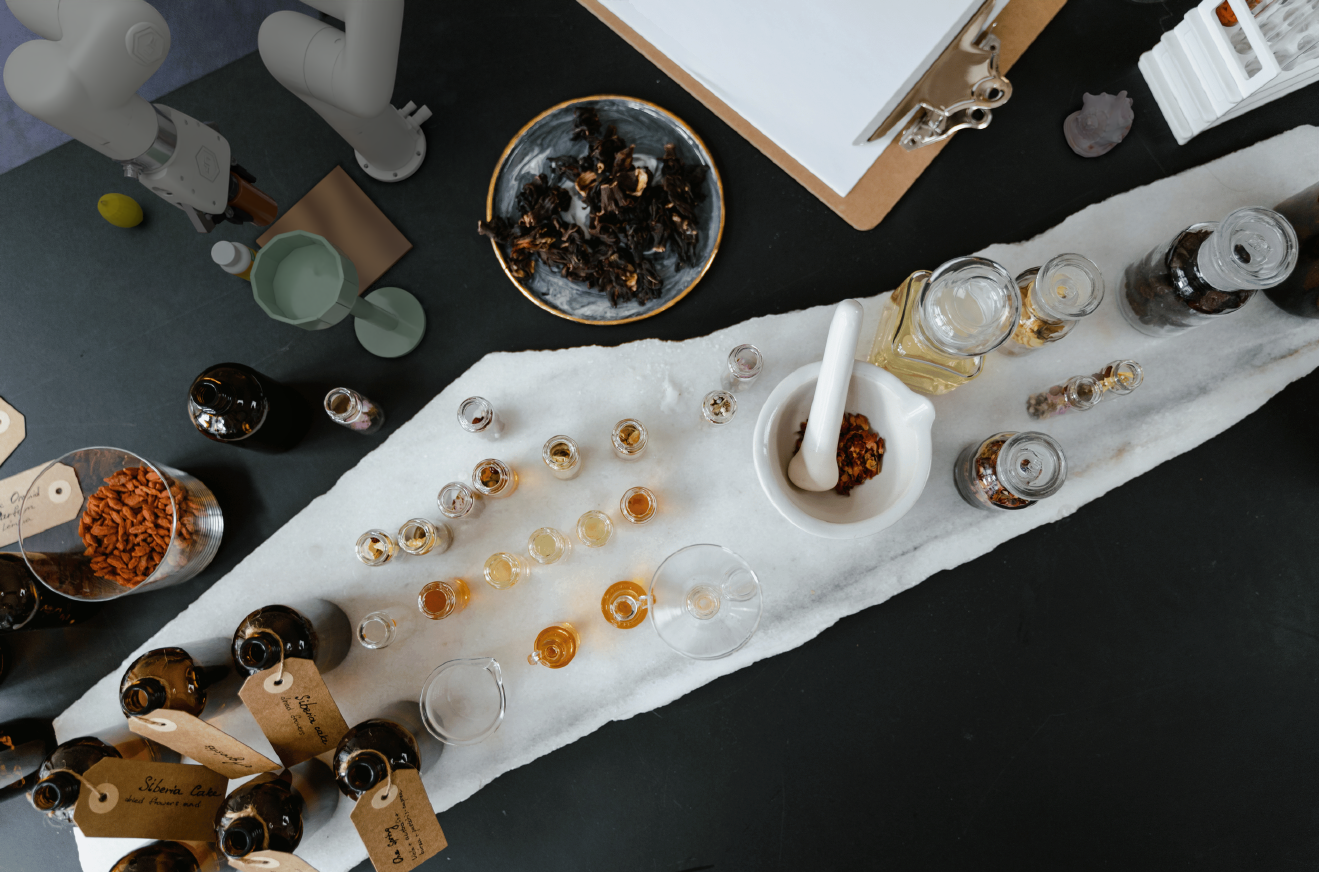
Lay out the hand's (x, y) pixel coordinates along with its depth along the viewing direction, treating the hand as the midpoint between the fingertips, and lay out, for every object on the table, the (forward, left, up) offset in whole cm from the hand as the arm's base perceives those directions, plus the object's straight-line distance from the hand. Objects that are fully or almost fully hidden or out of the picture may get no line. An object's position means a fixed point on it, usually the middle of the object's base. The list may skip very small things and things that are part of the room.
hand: (244, 199), depth 92 cm
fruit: (+22, -30, -26) cm, 45 cm away
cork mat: (-1, -2, -25) cm, 26 cm away
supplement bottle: (+12, -8, -26) cm, 29 cm away
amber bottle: (0, 0, -4) cm, 4 cm away
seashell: (-112, +74, -26) cm, 137 cm away
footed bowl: (+1, +15, -25) cm, 30 cm away
